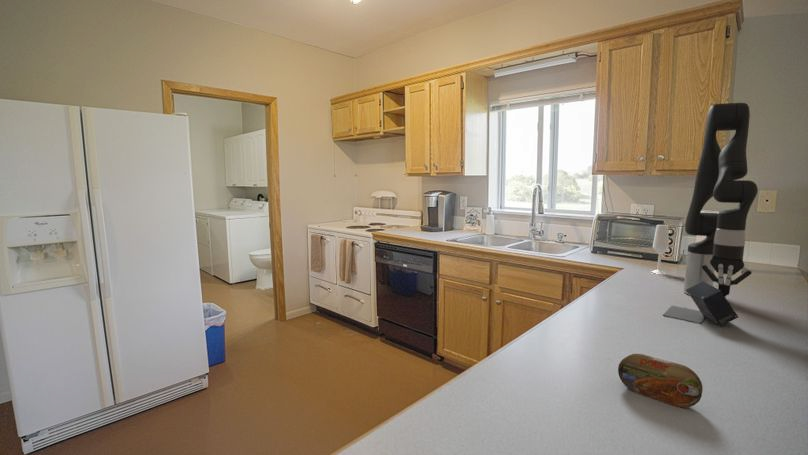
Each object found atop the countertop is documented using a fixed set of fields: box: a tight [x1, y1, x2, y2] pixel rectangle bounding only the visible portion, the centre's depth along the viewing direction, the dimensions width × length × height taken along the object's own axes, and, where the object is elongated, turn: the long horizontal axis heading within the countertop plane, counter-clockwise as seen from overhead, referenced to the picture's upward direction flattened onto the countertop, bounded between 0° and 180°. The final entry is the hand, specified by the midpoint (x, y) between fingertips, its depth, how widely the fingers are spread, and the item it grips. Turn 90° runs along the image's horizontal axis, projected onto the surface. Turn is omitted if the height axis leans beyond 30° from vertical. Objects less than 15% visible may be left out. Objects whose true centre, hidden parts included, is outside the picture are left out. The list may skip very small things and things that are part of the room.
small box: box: [686, 281, 739, 327], centre depth 126 cm, size 11×6×10 cm
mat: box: [662, 305, 706, 325], centre depth 133 cm, size 14×10×1 cm
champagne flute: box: [651, 224, 670, 275], centre depth 190 cm, size 7×7×24 cm
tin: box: [617, 353, 704, 408], centre depth 82 cm, size 15×3×8 cm, turn 46°
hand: (723, 295), depth 125 cm, fingers closed
